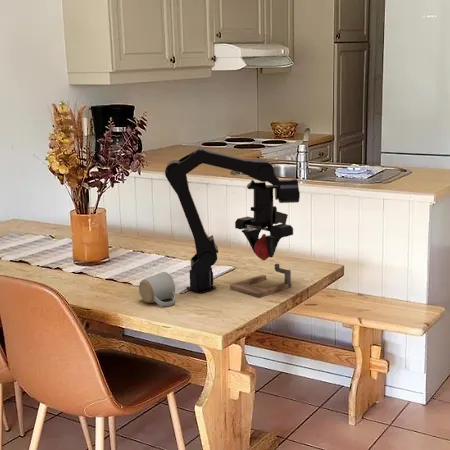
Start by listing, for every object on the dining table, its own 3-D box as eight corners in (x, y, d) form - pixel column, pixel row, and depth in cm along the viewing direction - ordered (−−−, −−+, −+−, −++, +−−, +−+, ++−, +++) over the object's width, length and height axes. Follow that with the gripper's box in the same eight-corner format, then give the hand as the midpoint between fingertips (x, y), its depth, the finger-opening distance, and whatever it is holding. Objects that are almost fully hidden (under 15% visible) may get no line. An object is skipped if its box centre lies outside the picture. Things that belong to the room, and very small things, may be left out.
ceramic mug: (137, 300, 201) (136, 274, 199) (161, 294, 206) (160, 268, 204) (159, 310, 193) (158, 283, 191) (183, 303, 198) (182, 277, 196)
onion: (272, 263, 205) (272, 237, 204) (252, 262, 207) (252, 236, 205) (274, 258, 211) (274, 232, 209) (255, 257, 212) (255, 231, 210)
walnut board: (259, 297, 201) (259, 277, 199) (229, 288, 209) (229, 269, 208) (292, 286, 210) (292, 267, 208) (262, 278, 218) (262, 259, 217)
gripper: (306, 203, 204) (305, 255, 207) (259, 195, 217) (260, 244, 220) (279, 209, 196) (279, 263, 200) (233, 200, 209) (234, 251, 213)
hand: (263, 255), depth 208 cm, fingers closed on onion, 6 cm apart
